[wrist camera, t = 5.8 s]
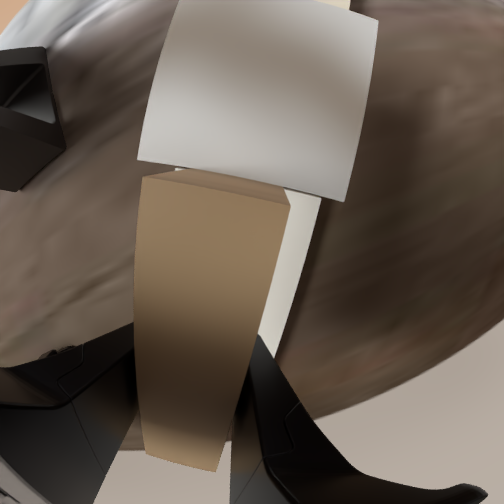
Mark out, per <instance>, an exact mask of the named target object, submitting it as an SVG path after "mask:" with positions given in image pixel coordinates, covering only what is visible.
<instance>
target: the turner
mask: <svg viewBox="0 0 504 504" xmlns="http://www.w3.org/2000/svg"><path fill="white" fill-rule="evenodd" d="M377 29H378V20H375V19H373V18H370V17H367V16H364V15H362V14H359V13H356V12H353V11H350V10H347V9H343V8H340V7H337V6H333V5H330V4H326V3H322V2H318V1H314V0H179V3H178V5H177V8H176V11H175V13H174V16H173V19H172V22H171V24H170V27H169V30H168V33H167V36H166V39H165V42H164V45H163V49H162V52H161V55H160V59H159V62H158V66H157V69H156V73H155V77H154V80H153V84H152V88H151V92H150V96H149V101H148V105H147V110H146V114H145V119H144V124H143V129H142V134H141V140H140V145H139V151H138V158H137V160H142V161H149V162H156V163H163V164H170V165H176V166H182V167H188V168H191V169H185V170H178V171H172V172H166V173H160V174H155V175H149V176H144V177H143V179H142V186H141V194H140V203H139V212H138V222H137V234H136V248H135V267H134V348H135V366H136V380H137V391H138V401H139V410H140V418H141V425H142V432H143V439H144V445H145V451H146V454H148V455H151V456H154V457H157V458H161V459H164V460H167V461H170V462H174V463H178V464H181V465H185V466H189V467H193V468H198V469H202V470H206V471H211V472H216V469H217V466H218V463H219V460H220V457H221V454H222V451H223V448H224V445H225V442H226V438H227V435H228V432H229V429H230V426H231V422H232V419H233V416H234V413H235V409H236V406H237V403H238V399H239V396H240V393H241V389H242V386H243V383H244V379H245V376H246V372H247V369H248V365H249V362H250V358H251V355H252V351H253V348H254V344H255V341H256V337H257V334H258V330H259V327H260V323H261V319H262V316H263V312H264V308H265V305H266V301H267V297H268V294H269V290H270V286H271V282H272V279H273V275H274V271H275V267H276V263H277V260H278V256H279V252H280V248H281V244H282V240H283V236H284V232H285V228H286V224H287V220H288V216H289V212H290V208H291V205H290V203H289V200H288V198H287V195H286V193H285V191H284V188H283V187H287V188H291V189H295V190H299V191H303V192H307V193H311V194H315V195H319V196H323V197H326V198H330V199H334V200H337V201H341V202H344V200H345V196H346V192H347V189H348V185H349V181H350V177H351V173H352V169H353V164H354V160H355V156H356V151H357V147H358V142H359V138H360V133H361V128H362V124H363V119H364V113H365V108H366V103H367V97H368V92H369V86H370V80H371V74H372V67H373V60H374V53H375V46H376V38H377Z"/></svg>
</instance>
